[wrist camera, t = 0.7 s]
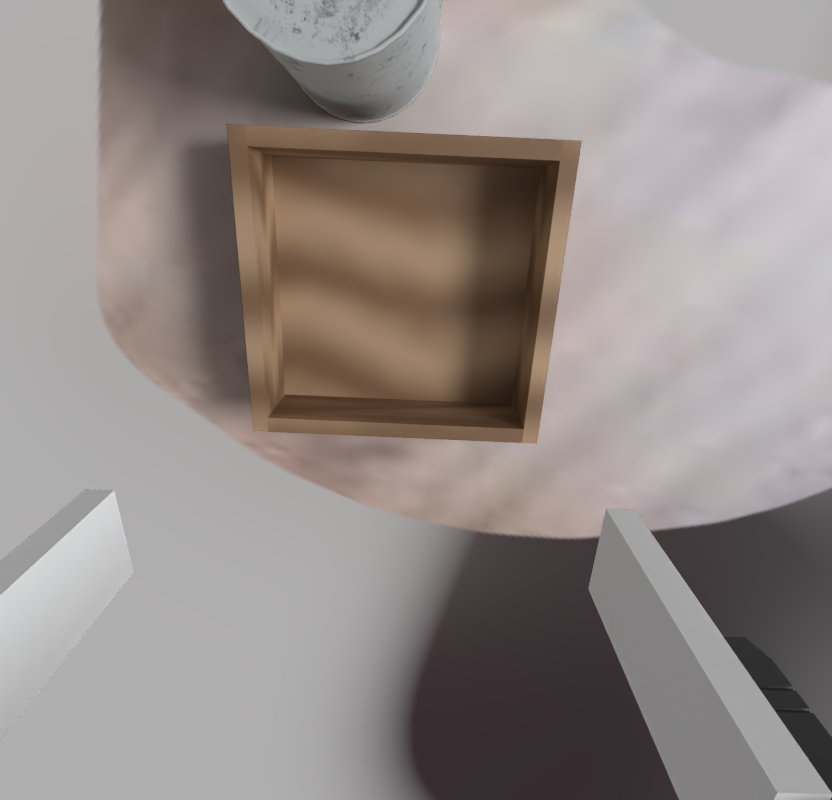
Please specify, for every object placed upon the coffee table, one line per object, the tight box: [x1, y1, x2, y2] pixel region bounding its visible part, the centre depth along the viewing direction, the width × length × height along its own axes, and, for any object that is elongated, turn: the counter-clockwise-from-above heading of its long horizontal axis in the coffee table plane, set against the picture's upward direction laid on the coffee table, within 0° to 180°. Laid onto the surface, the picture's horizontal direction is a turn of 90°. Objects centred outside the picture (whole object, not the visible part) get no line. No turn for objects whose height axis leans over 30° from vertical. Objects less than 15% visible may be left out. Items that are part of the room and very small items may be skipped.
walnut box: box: [227, 124, 581, 443], centre depth 31 cm, size 18×19×6 cm
